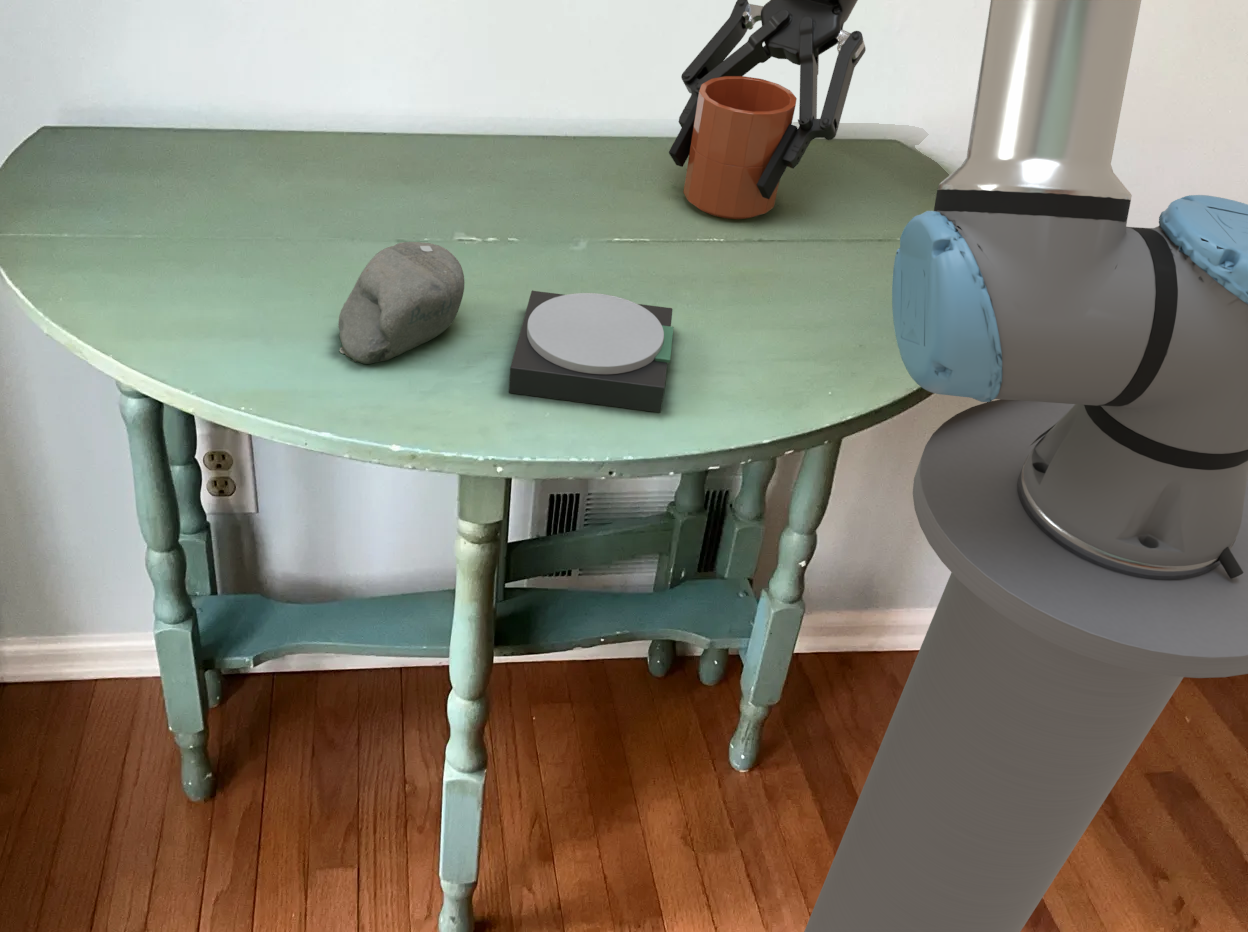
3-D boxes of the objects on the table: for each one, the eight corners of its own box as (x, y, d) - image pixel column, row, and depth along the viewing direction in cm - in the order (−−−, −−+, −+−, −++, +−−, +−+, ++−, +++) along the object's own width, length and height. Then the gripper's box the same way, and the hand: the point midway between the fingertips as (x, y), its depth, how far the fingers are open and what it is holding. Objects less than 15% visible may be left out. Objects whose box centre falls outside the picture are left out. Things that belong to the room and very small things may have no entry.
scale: (671, 332, 101) (676, 299, 99) (663, 413, 93) (668, 379, 90) (529, 314, 102) (532, 281, 100) (508, 393, 93) (510, 358, 91)
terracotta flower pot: (792, 211, 120) (816, 104, 113) (721, 230, 116) (741, 120, 109) (734, 175, 126) (753, 70, 118) (665, 191, 122) (680, 84, 114)
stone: (311, 321, 99) (357, 212, 95) (395, 339, 105) (442, 237, 101) (361, 376, 94) (412, 262, 90) (447, 392, 100) (498, 286, 96)
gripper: (939, 21, 114) (825, 229, 115) (741, -34, 124) (637, 158, 124) (932, -26, 107) (811, 195, 108) (723, -80, 117) (614, 123, 118)
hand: (718, 175), depth 116 cm, fingers closed on terracotta flower pot, 9 cm apart
